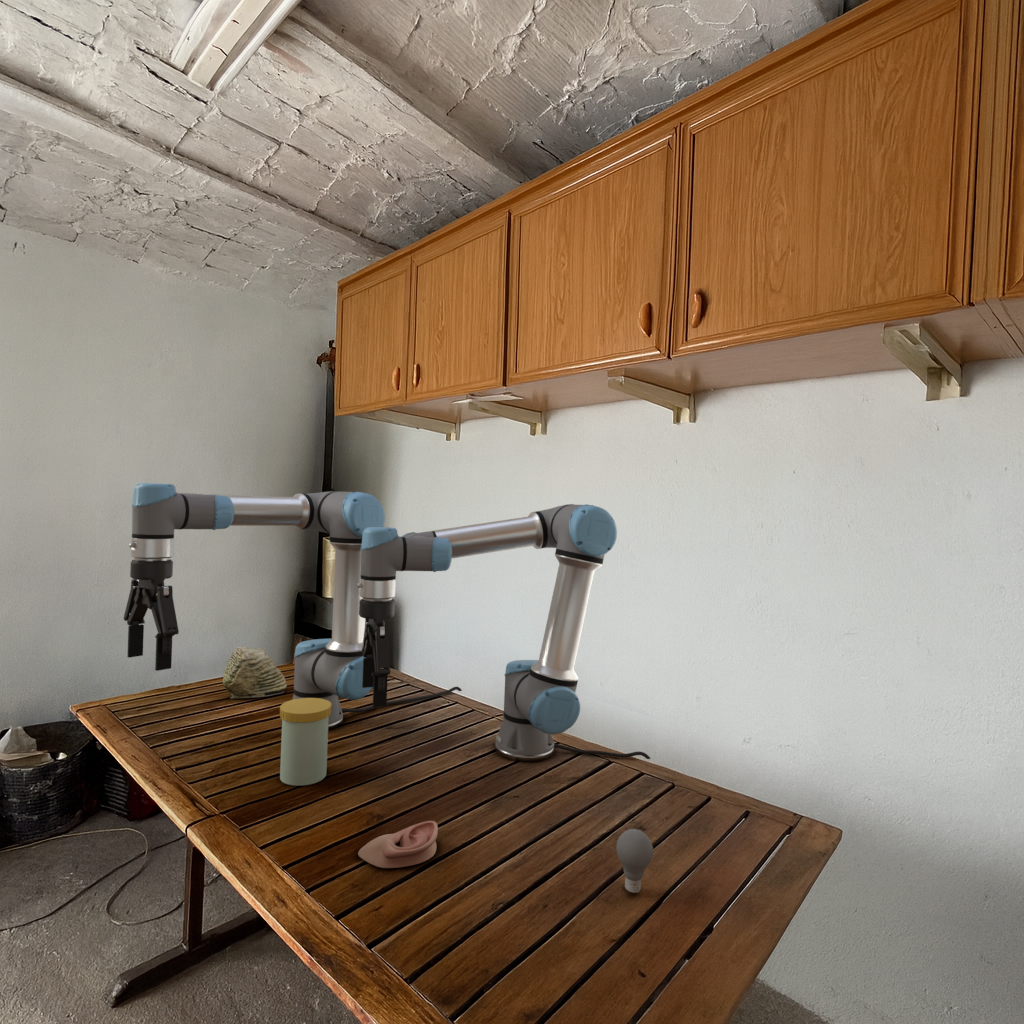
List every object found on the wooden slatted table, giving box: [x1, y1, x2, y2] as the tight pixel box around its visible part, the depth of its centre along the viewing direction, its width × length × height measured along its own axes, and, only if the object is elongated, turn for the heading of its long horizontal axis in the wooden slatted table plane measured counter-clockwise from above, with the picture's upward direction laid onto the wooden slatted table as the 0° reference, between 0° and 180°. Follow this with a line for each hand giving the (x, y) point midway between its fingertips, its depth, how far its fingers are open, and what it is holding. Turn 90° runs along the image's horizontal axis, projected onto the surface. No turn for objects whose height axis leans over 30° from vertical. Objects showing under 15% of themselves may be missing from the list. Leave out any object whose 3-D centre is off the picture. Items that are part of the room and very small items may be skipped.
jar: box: [279, 716, 329, 787], centre depth 143 cm, size 10×10×16 cm
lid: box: [278, 698, 332, 723], centre depth 143 cm, size 11×11×2 cm
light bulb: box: [615, 828, 654, 894], centre depth 106 cm, size 6×6×10 cm
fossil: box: [222, 646, 288, 699], centre depth 198 cm, size 9×18×15 cm, turn 132°
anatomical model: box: [357, 820, 439, 869], centre depth 114 cm, size 13×4×12 cm
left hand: (148, 662), depth 129 cm, fingers open, 13 cm apart
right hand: (373, 696), depth 137 cm, fingers open, 13 cm apart
